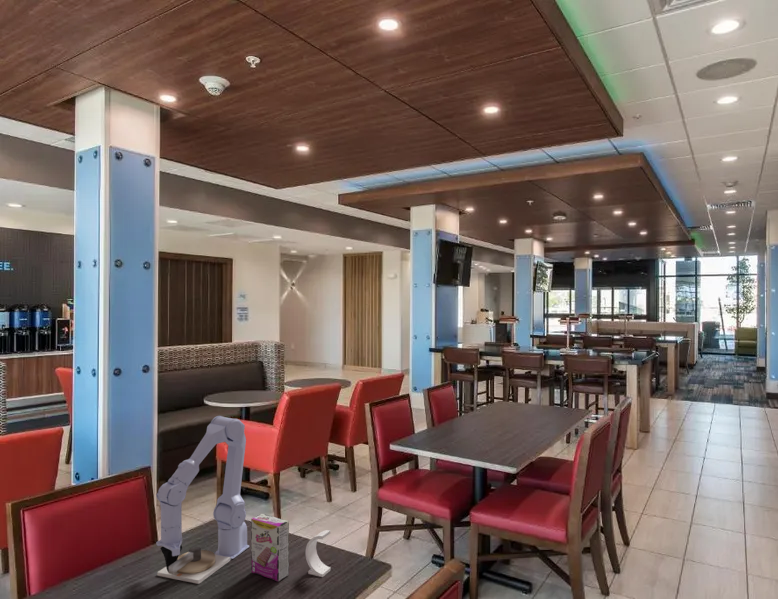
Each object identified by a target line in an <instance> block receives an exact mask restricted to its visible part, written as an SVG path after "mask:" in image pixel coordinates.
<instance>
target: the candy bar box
mask: <svg viewBox="0 0 778 599" xmlns="http://www.w3.org/2000/svg"><path fill="white" fill-rule="evenodd" d="M289 522H290V521H289V520H286V519H282V518H279V517H275V516H271V515H268V514H265V513H260V514H259V515H256V516H254V517H252V518H251V519H250V523H251V524H250V530H251V531H250V533H251V534H250V535H251V537H250V539H251V540H250V542H251V544H250V545H251V550H250V552H251V553H250V554H251V555H250V556H251V558H250V559H251V562H250V565H251V566H250V567H251V568H250V569H251V571H250V572H251V573H252V574H255V575H259V576H261V577H265V578H267V579H270V580H273V581H276V582H280V581H282V580H283V579H285V578H286V577H288V576H289V575H290V567H289V566H290V564H289V563H290V560H289V559H290V551H289V550H290V548H289V547H290V546H289V545H290V539H289V538H290V535H289V534H290V530H289V528H290V525H289V524H290V523H289Z"/></svg>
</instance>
